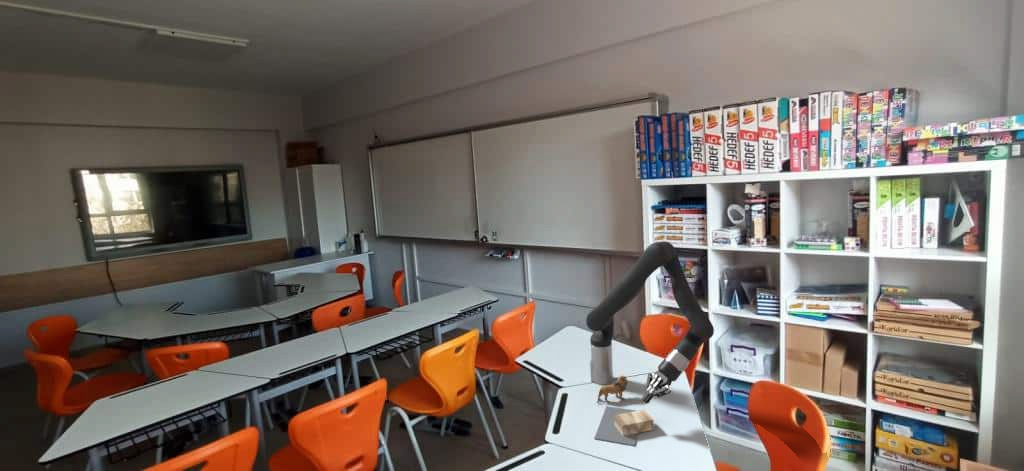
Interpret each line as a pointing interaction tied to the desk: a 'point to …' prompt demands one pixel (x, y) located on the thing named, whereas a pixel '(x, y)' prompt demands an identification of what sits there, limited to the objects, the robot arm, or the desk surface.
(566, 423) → the desk surface
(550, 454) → the desk surface
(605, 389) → the lion figurine
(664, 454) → the desk surface
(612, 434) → the slate mat
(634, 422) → the birch block
